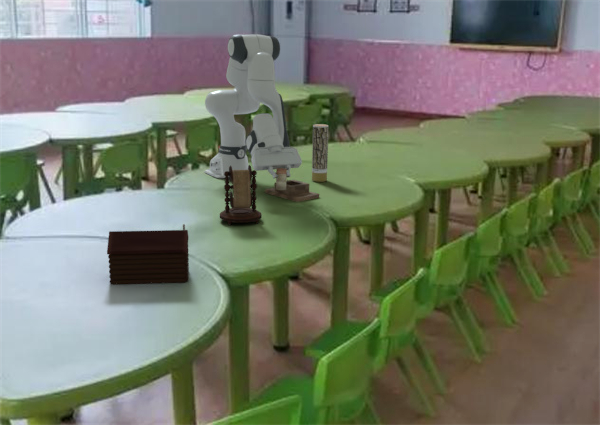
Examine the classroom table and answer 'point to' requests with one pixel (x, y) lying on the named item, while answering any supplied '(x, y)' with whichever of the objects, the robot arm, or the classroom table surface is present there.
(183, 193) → the classroom table surface
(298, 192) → the socket board
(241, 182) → the scroll
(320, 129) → the paper tube
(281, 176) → the peg
